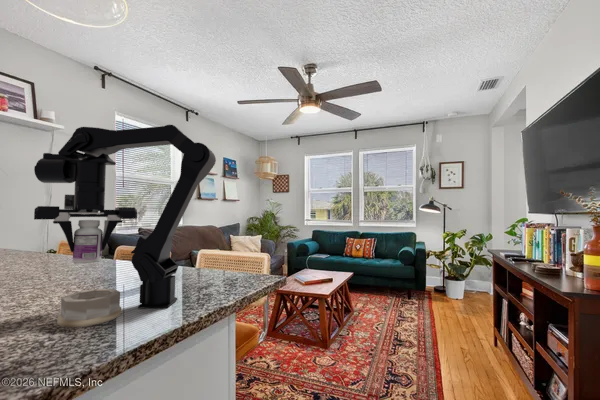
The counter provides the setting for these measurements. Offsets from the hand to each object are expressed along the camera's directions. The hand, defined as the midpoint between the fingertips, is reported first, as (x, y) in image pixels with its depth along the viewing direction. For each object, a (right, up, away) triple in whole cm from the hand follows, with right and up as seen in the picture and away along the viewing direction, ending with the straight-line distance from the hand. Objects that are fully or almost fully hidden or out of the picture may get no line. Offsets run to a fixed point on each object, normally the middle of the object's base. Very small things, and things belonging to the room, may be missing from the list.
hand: (87, 250), depth 66 cm
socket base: (+7, -12, -8) cm, 16 cm away
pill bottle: (0, -3, 0) cm, 3 cm away
